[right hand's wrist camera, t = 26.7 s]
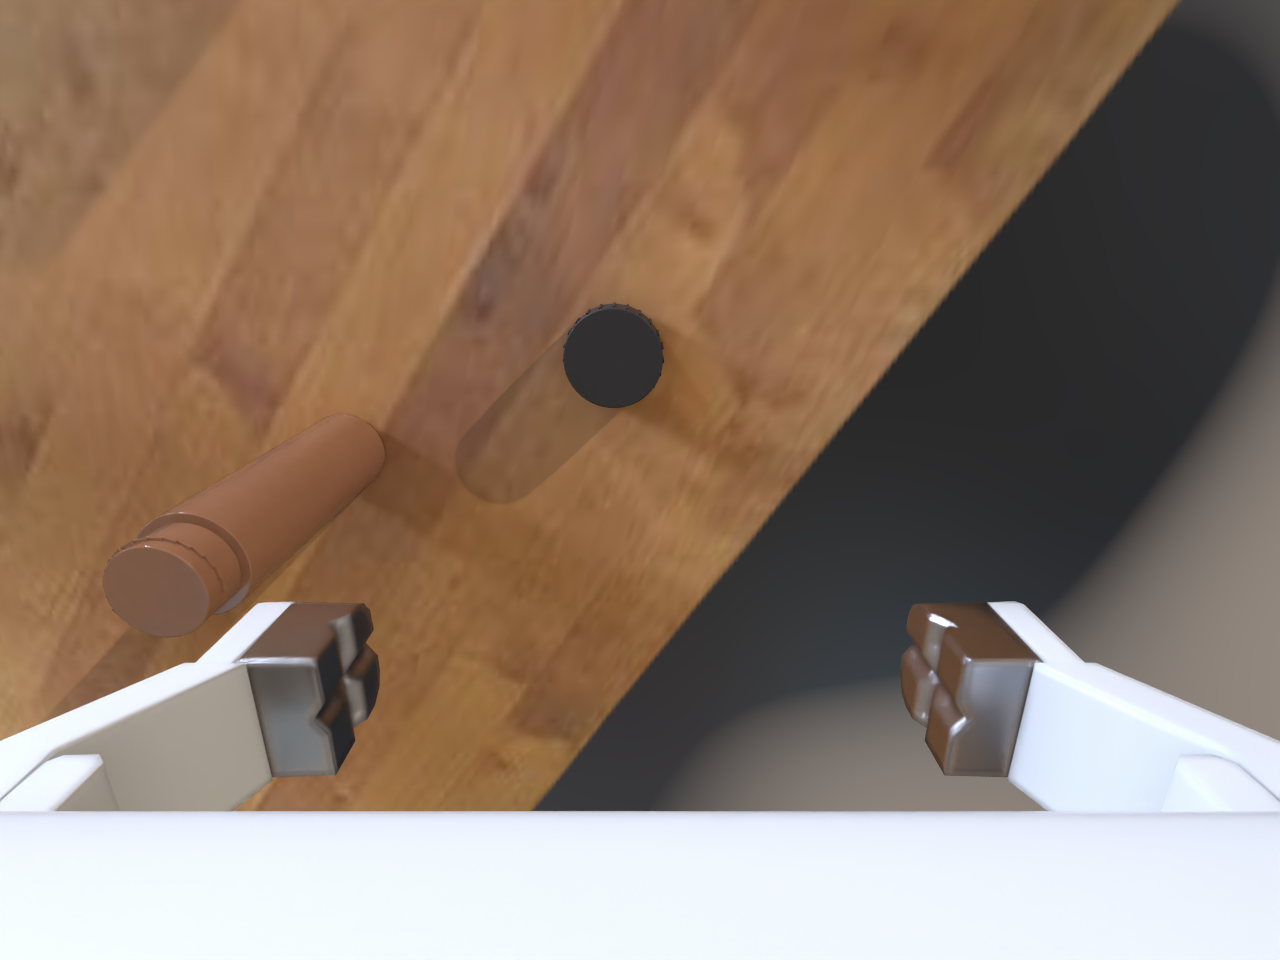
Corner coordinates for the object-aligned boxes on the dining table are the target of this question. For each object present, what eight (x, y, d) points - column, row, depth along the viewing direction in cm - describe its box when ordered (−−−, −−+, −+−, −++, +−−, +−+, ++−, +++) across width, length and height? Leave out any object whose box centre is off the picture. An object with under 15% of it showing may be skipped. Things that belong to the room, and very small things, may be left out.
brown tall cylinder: (354, 400, 36) (159, 515, 21) (400, 465, 37) (245, 615, 23) (293, 436, 37) (63, 571, 22) (340, 498, 38) (152, 665, 23)
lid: (586, 411, 36) (582, 422, 34) (552, 321, 35) (546, 326, 33) (675, 381, 36) (677, 391, 34) (644, 288, 34) (645, 292, 32)
